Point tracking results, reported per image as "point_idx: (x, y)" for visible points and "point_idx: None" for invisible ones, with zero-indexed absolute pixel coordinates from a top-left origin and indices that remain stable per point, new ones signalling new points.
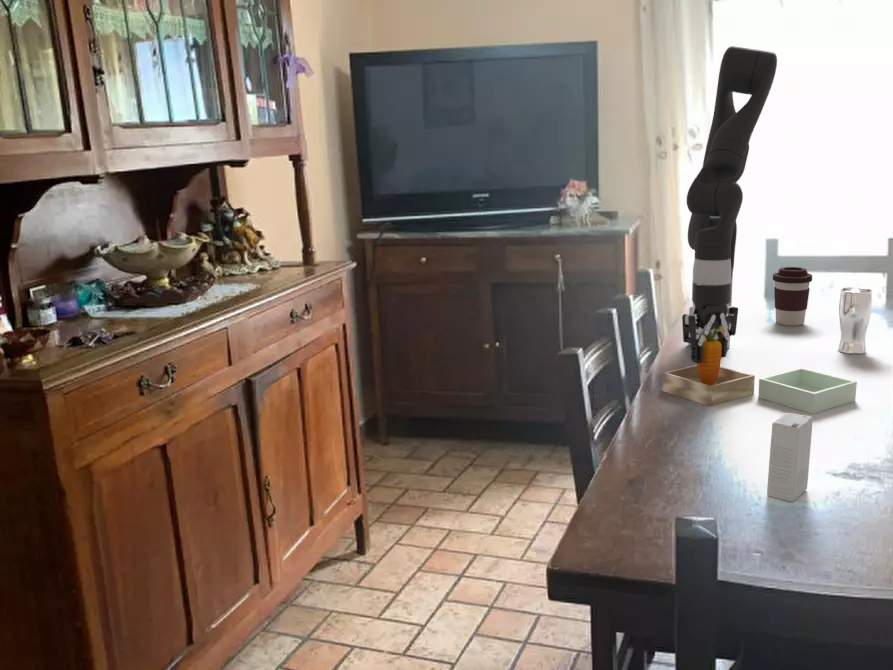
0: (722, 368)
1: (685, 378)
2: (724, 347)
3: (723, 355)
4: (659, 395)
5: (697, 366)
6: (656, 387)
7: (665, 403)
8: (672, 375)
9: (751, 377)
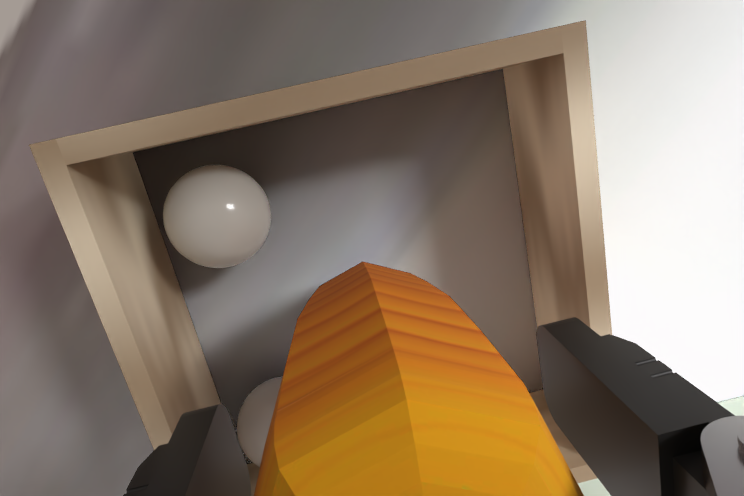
0: (577, 228)
1: (143, 367)
2: (611, 487)
3: (556, 423)
4: (43, 214)
5: (302, 311)
6: (102, 39)
7: (14, 363)
8: (77, 257)
9: (589, 473)
